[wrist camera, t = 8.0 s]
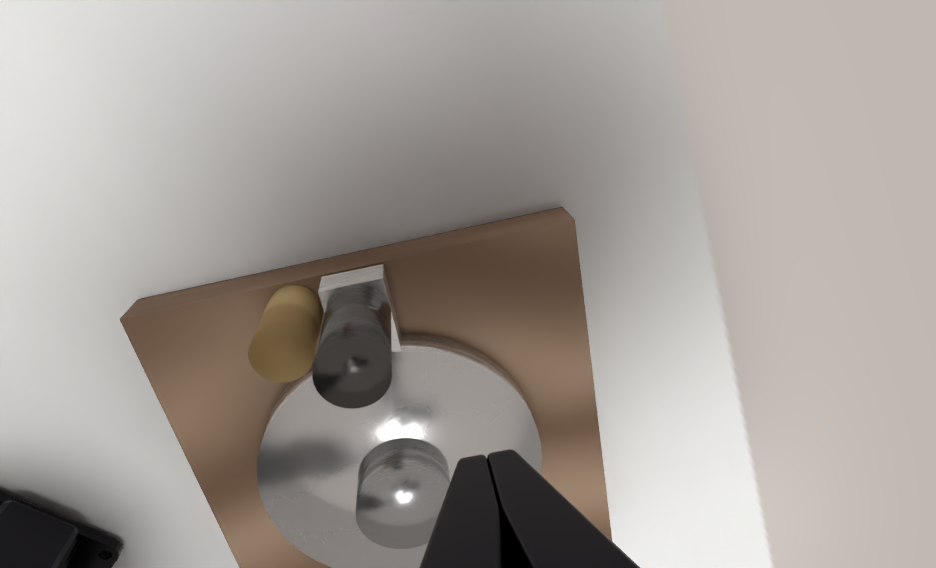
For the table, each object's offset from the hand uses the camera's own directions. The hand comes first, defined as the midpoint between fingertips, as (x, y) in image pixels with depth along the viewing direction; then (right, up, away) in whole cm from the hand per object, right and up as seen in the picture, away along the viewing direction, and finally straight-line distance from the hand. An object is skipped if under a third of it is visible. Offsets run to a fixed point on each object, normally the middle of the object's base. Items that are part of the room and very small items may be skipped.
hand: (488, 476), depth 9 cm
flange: (-3, -2, +13) cm, 13 cm away
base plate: (-3, -3, +15) cm, 15 cm away
